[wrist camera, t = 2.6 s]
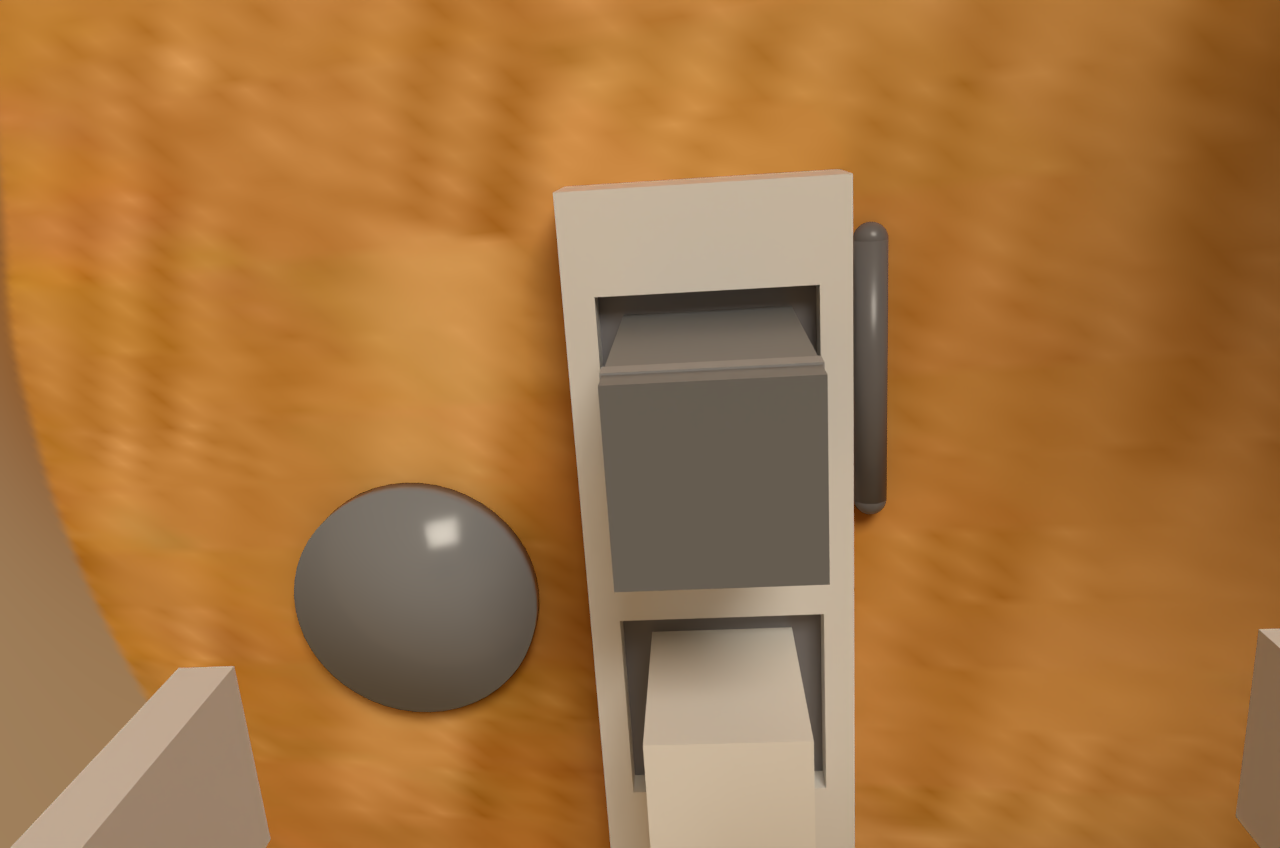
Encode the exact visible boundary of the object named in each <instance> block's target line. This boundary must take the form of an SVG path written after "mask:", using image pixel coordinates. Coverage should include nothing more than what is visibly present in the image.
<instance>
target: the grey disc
mask: <svg viewBox="0 0 1280 848" xmlns="http://www.w3.org/2000/svg"><path fill="white" fill-rule="evenodd" d="M294 599H295V607H296V613H297V617H298V621H299V624H300V627H301V629H302V632H303V634H304V637H305V639H306V641H307V642H308V644H309V646H310V648H311V650H312V651H313V653H314V654H315V655H316V657H317V658H318V659H319V661H320V662H321V663H322V665H323V666H324V667H325V668H326V669H327V670H328V671H329V672H330V673H331V674H332V675H333V676H334V677H335V678H337V679H338V680H339V681H340V682H341V683H343V684H344V685H345V686H347V687H348V688H350V689H351V690H353V691H354V692H356V693H358V694H360V695H361V696H363V697H365V698H367V699H369V700H372V701H374V702H377V703H379V704H382V705H385V706H388V707H392V708H396V709H400V710H407V711H414V712H436V711H446V710H451V709H456V708H460V707H463V706H466V705H469V704H472V703H474V702H476V701H478V700H480V699H482V698H484V697H486V696H488V695H489V694H491V693H492V692H494V691H495V690H497V689H498V688H499V687H500V686H501V685H503V684H504V683H505V682H506V681H507V680H508V679H509V678H510V677H511V676H512V674H513V673H514V672H515V671H516V670H517V669H518V667H519V665H520V664H521V662H522V660H523V659H524V657H525V655H526V653H527V650H528V648H529V646H530V643H531V640H532V637H533V634H534V630H535V627H536V623H537V619H538V611H539V589H538V583H537V578H536V574H535V571H534V568H533V565H532V562H531V560H530V557H529V555H528V553H527V551H526V549H525V547H524V546H523V544H522V543H521V541H520V540H519V538H518V537H517V535H516V534H515V533H514V532H513V531H512V529H511V528H510V527H509V526H508V525H507V524H506V523H505V522H504V521H503V520H502V519H501V518H500V517H499V516H498V515H497V514H496V513H494V512H493V511H492V510H490V509H489V508H487V507H486V506H485V505H483V504H482V503H480V502H478V501H476V500H475V499H473V498H471V497H469V496H467V495H465V494H462V493H460V492H457V491H455V490H452V489H448V488H445V487H441V486H437V485H430V484H423V483H399V484H390V485H385V486H381V487H377V488H373V489H371V490H368V491H366V492H363V493H360V494H359V495H357V496H355V497H353V498H351V499H350V500H348V501H346V502H345V503H344V504H342V505H341V506H340V507H338V508H337V509H336V510H335V511H334V512H333V513H332V514H331V515H330V516H329V517H328V518H327V519H326V520H325V521H324V522H323V523H322V524H321V525H320V526H319V527H318V529H317V530H316V531H315V532H314V534H313V535H312V537H311V538H310V539H309V541H308V543H307V544H306V546H305V548H304V550H303V552H302V554H301V557H300V560H299V563H298V566H297V571H296V576H295V585H294Z"/></svg>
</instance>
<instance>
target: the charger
mask: <svg viewBox="0 0 1280 848" xmlns="http://www.w3.org/2000/svg"><path fill="white" fill-rule="evenodd" d="M599 379H600V381H599V384H598V396H599V408H600V421H601V433H602V446H603V458H604V471H605V483H606V496H607V508H608V521H609V533H610V546H611V558H612V571H613V583H614V592H637V591H666V590H694V589H722V588H750V587H778V586H806V585H830V557H829V463H828V374H827V373H826V371H825V362H824V360H823V358H822V356H818V355H817V353H816V352H815V350H814V348H813V346H812V344H811V342H810V340H809V338H808V336H807V334H806V332H805V330H804V329H803V327H802V325H801V323H800V321H799V319H798V317H797V315H796V313H795V311H794V309H793V308H792V306H776V307H758V308H739V309H721V310H703V311H685V312H666V313H648V314H630V315H623V318H622V320H621V323H620V326H619V329H618V331H617V334H616V337H615V340H614V342H613V345H612V348H611V351H610V353H609V356H608V359H607V362H606V365H605V367H601V370H600V372H599Z"/></svg>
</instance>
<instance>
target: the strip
mask: <svg viewBox="0 0 1280 848" xmlns="http://www.w3.org/2000/svg"><path fill="white" fill-rule="evenodd" d="M553 200H554V211H555V223H556V234H557V245H558V257H559V268H560V279H561V291H562V302H563V313H564V325H565V336H566V347H567V359H568V370H569V381H570V393H571V404H572V415H573V427H574V438H575V449H576V461H577V472H578V483H579V495H580V506H581V517H582V529H583V540H584V551H585V563H586V574H587V585H588V597H589V608H590V619H591V631H592V642H593V653H594V665H595V676H596V687H597V699H598V710H599V721H600V733H601V744H602V755H603V767H604V778H605V789H606V801H607V812H608V823H609V835H610V846H611V848H650V835H649V822H648V808H647V795H646V781H645V768H644V754H643V738H644V725H645V713H646V701H647V689H648V677H649V664H650V652H651V640H652V632H663V631H693V630H724V629H755V628H785V627H792V631H793V636H794V641H795V646H796V651H797V657H798V662H799V667H800V672H801V677H802V683H803V688H804V693H805V698H806V703H807V709H808V714H809V719H810V724H811V729H812V735H813V740H814V783H815V843H816V848H855V740H854V503H855V505H856V507H857V508H858V509H859V510H860V511H861V512H863V513H866V514H875V513H878V512H879V511H881V510H882V509H883V508H884V506H885V503H886V493H887V355H888V234H887V231H886V229H885V228H884V227H883V226H882V225H881V224H879V223H876V222H866V223H864V224H862V225H860V226H859V227H858V228H857V229H856V231H855V233H854V235H853V173H850V172H847V171H844V170H841V169H832V170H817V171H801V172H785V173H770V174H754V175H739V176H723V177H707V178H692V179H676V180H660V181H645V182H629V183H613V184H598V185H582V186H566V187H563V188H561V189H559V190H557V191H555V192H553ZM776 306H792V308H793V309H794V311H795V313H796V315H797V317H798V319H799V321H800V323H801V325H802V327H803V329H804V330H805V332H806V334H807V336H808V338H809V340H810V342H811V344H812V346H813V348H814V350H815V352H816V353H817V355H818V356H822V358H823V360H824V362H825V371H826V373H827V374H828V463H829V557H830V585H806V586H778V587H750V588H722V589H694V590H666V591H637V592H614V583H613V571H612V558H611V546H610V533H609V521H608V508H607V496H606V483H605V471H604V458H603V446H602V433H601V421H600V408H599V396H598V384H599V381H600V379H599V372H600V370H601V367H605V365H606V362H607V359H608V356H609V353H610V351H611V348H612V345H613V342H614V340H615V337H616V334H617V331H618V329H619V326H620V323H621V320H622V318H623V315H630V314H648V313H666V312H685V311H703V310H721V309H739V308H758V307H776Z"/></svg>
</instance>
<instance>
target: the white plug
mask: <svg viewBox="0 0 1280 848" xmlns="http://www.w3.org/2000/svg"><path fill="white" fill-rule="evenodd" d="M643 754H644V768H645V781H646V795H647V808H648V822H649V835H650V848H816V843H815V783H814V740H813V735H812V729H811V724H810V719H809V714H808V709H807V703H806V698H805V693H804V688H803V683H802V677H801V672H800V667H799V662H798V657H797V651H796V646H795V641H794V636H793V631H792V627H785V628H755V629H724V630H693V631H663V632H652V640H651V652H650V664H649V677H648V689H647V701H646V713H645V725H644V738H643Z"/></svg>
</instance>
